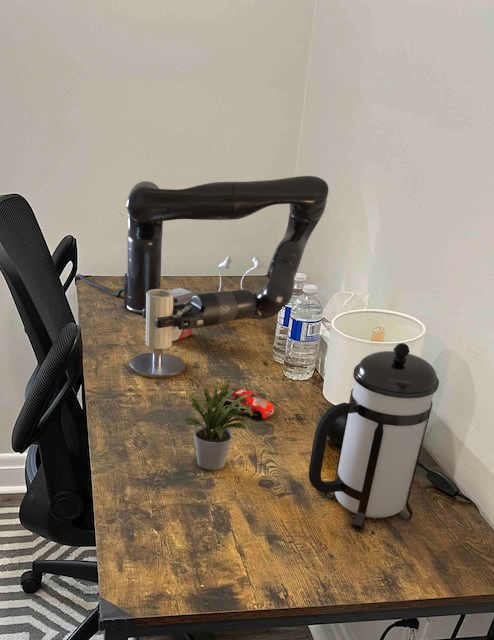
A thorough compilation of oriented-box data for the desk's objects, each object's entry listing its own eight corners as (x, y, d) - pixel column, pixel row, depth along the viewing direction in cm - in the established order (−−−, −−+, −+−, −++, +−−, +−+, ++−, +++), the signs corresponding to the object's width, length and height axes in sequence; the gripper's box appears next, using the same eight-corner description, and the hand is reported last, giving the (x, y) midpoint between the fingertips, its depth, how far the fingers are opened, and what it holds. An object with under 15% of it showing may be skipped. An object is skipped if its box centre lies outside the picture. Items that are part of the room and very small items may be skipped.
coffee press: (334, 473, 136) (363, 317, 120) (421, 500, 129) (464, 339, 113) (299, 519, 123) (326, 352, 107) (393, 551, 116) (437, 378, 100)
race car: (277, 413, 155) (280, 396, 153) (266, 423, 152) (268, 406, 149) (223, 396, 161) (224, 380, 159) (210, 405, 157) (212, 388, 155)
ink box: (179, 330, 194) (181, 286, 187) (192, 336, 190) (194, 291, 184) (153, 337, 189) (154, 292, 182) (166, 343, 186) (167, 298, 179)
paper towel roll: (140, 344, 170) (141, 294, 163) (154, 336, 174) (155, 287, 167) (162, 351, 167) (163, 299, 161) (176, 342, 171) (178, 292, 165)
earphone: (252, 278, 221) (266, 252, 203) (255, 331, 219) (270, 309, 201) (207, 278, 220) (218, 252, 202) (210, 331, 217) (221, 310, 200)
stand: (118, 368, 172) (118, 327, 166) (149, 351, 181) (150, 311, 176) (165, 383, 166) (167, 341, 161) (195, 364, 175) (197, 324, 170)
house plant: (191, 493, 129) (196, 409, 120) (155, 456, 139) (158, 376, 130) (259, 475, 134) (269, 394, 126) (220, 440, 145) (227, 364, 136)
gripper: (228, 334, 169) (163, 345, 163) (197, 314, 180) (135, 323, 173) (230, 302, 165) (164, 312, 159) (199, 283, 176) (135, 292, 169)
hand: (149, 318), depth 166 cm, fingers closed on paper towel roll, 6 cm apart
